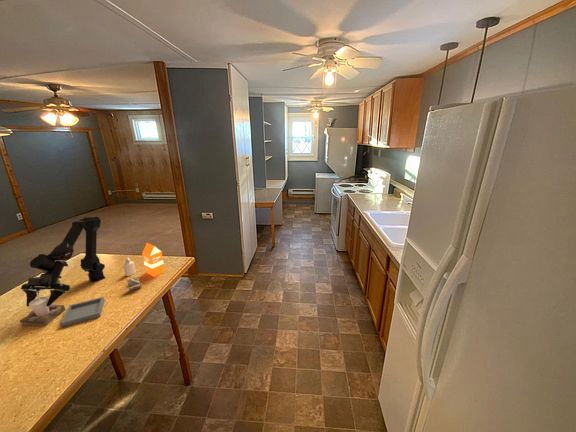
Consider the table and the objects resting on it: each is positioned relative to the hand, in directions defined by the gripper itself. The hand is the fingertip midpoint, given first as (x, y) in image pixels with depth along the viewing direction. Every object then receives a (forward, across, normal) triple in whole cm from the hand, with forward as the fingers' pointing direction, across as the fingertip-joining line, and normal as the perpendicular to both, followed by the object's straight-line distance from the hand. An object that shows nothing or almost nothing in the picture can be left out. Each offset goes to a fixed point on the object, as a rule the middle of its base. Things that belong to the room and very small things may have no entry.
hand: (37, 306), depth 110 cm
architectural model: (-11, +30, +22) cm, 39 cm away
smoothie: (+5, 0, +6) cm, 8 cm away
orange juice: (-25, +32, +35) cm, 53 cm away
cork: (-15, -22, +26) cm, 37 cm away
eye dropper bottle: (-23, +17, +34) cm, 44 cm away
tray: (+2, +17, +8) cm, 19 cm away
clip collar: (+4, 0, +6) cm, 8 cm away
